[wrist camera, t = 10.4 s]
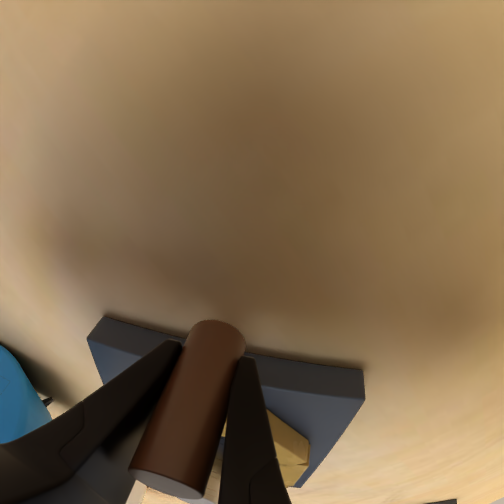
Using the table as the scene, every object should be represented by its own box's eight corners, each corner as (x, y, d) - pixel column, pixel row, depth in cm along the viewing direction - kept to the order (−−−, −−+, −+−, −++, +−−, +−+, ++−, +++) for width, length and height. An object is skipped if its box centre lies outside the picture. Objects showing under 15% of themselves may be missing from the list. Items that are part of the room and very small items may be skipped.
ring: (285, 482, 15) (273, 553, 11) (145, 448, 16) (117, 513, 12) (364, 345, 9) (373, 506, 5) (93, 288, 10) (4, 397, 5)
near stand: (303, 468, 17) (294, 535, 13) (141, 432, 18) (115, 491, 14) (363, 369, 11) (368, 486, 7) (102, 315, 13) (40, 401, 8)
